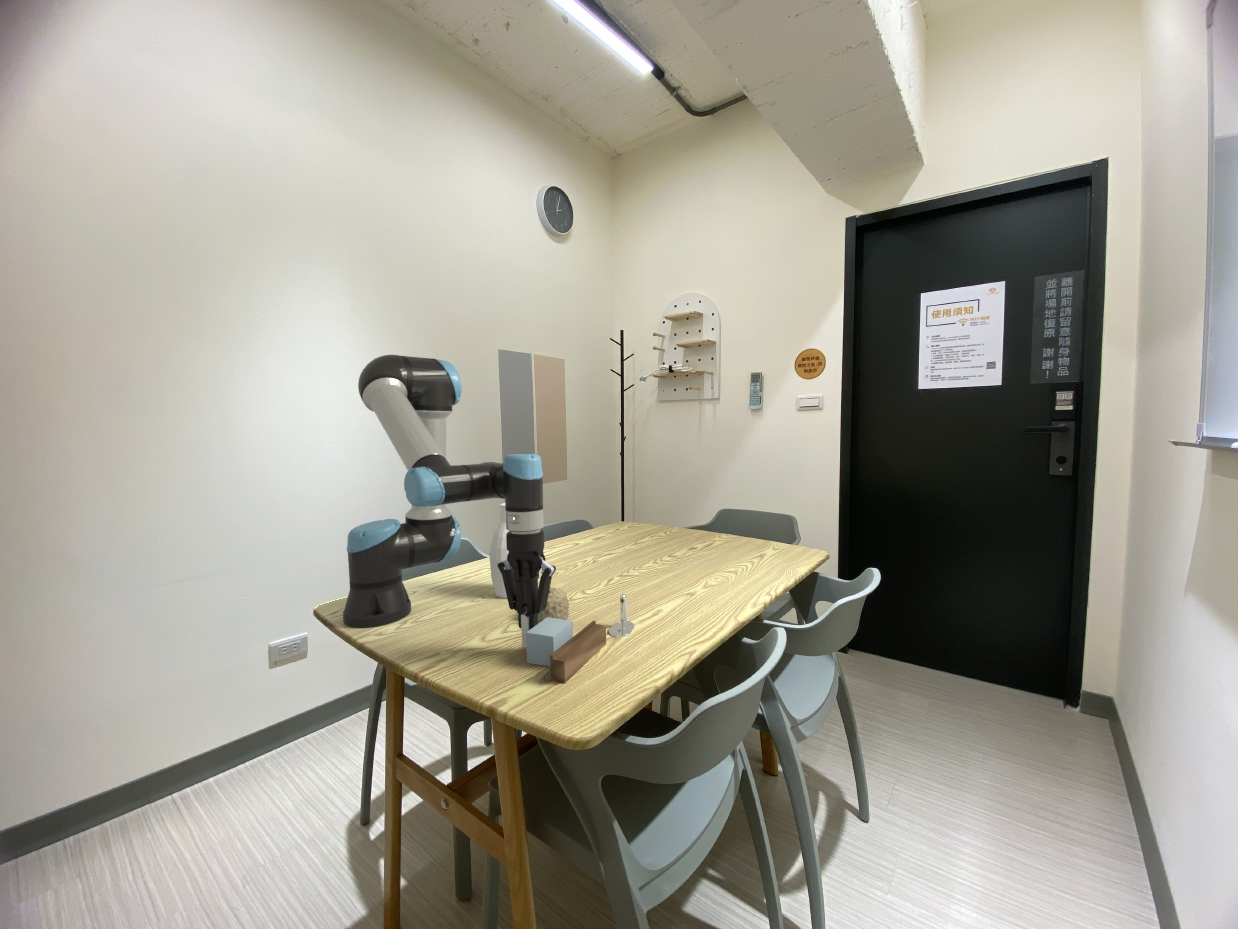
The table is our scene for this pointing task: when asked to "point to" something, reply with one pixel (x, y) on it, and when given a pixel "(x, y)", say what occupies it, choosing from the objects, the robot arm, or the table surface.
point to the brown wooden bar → (577, 652)
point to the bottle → (499, 554)
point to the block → (547, 639)
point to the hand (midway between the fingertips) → (528, 644)
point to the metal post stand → (622, 621)
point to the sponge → (555, 605)
